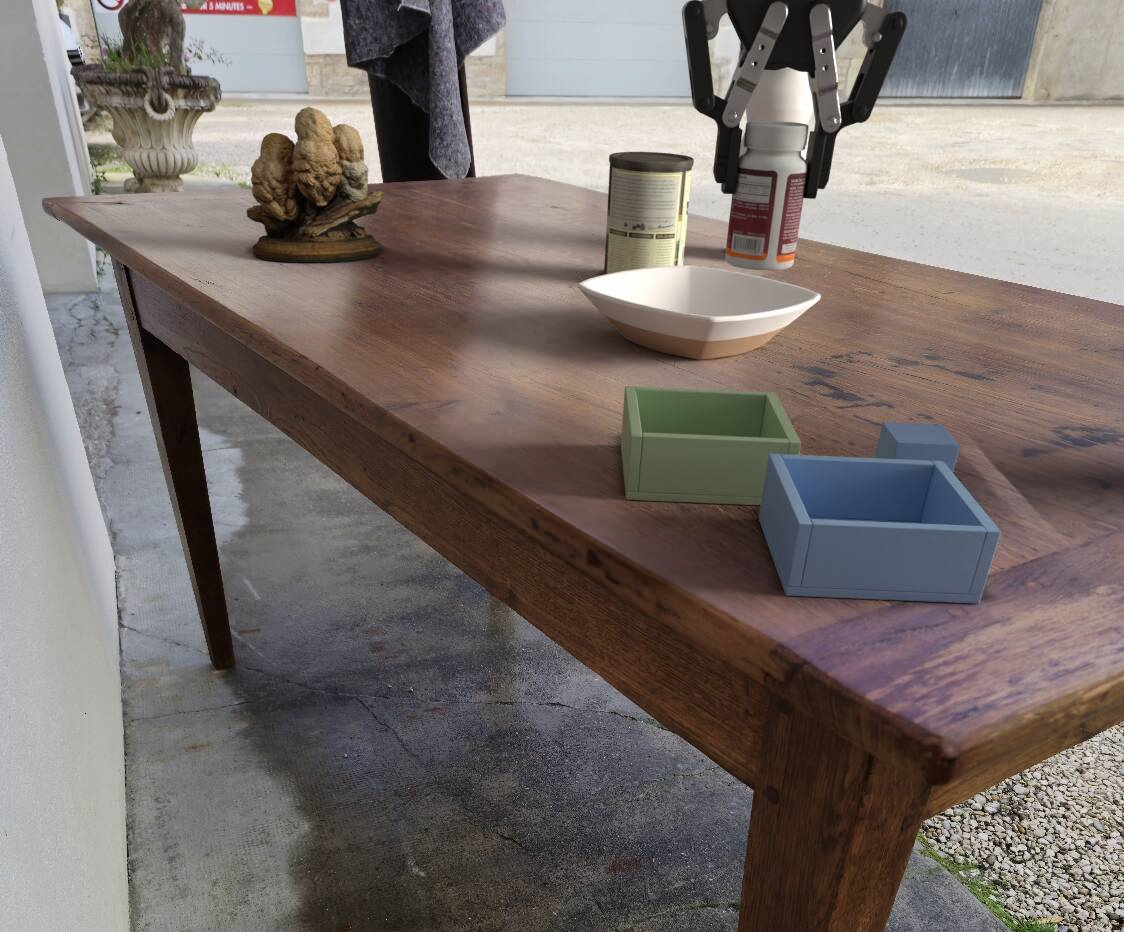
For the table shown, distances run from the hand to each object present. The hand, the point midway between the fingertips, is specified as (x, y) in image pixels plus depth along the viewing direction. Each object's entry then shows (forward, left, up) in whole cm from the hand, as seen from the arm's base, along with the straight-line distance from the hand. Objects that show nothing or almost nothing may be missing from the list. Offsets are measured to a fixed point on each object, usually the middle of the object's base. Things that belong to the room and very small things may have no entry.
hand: (768, 193), depth 69 cm
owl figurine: (+47, -75, -19) cm, 90 cm away
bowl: (0, -37, -19) cm, 41 cm away
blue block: (-12, +4, -19) cm, 23 cm away
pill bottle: (0, 0, -5) cm, 5 cm away
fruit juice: (-14, -87, -19) cm, 90 cm away
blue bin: (-6, +16, -19) cm, 25 cm away
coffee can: (+4, -67, -19) cm, 69 cm away
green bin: (+3, +2, -19) cm, 19 cm away
